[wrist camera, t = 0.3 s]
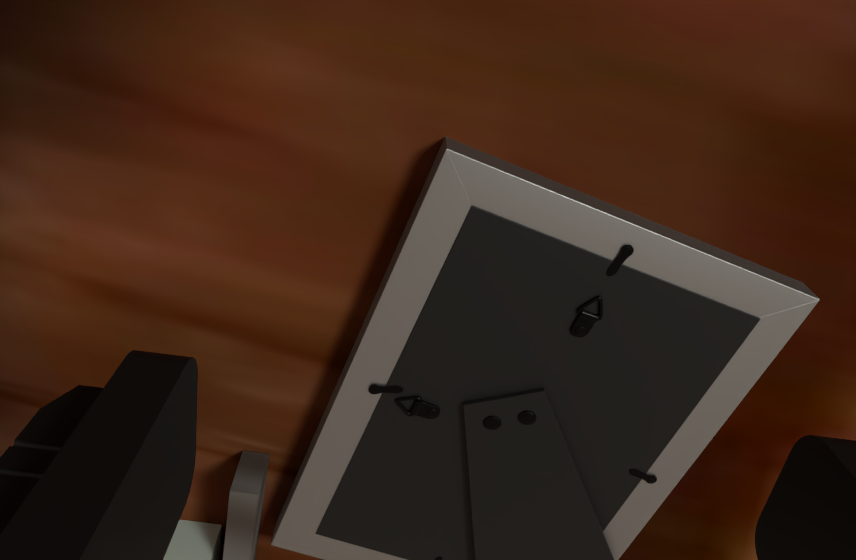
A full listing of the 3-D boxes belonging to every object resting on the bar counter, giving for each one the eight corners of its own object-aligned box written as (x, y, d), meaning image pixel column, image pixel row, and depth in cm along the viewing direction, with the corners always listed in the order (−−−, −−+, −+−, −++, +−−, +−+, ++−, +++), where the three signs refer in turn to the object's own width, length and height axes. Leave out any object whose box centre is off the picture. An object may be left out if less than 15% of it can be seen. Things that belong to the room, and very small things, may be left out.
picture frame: (559, 591, 38) (794, 274, 29) (569, 639, 35) (830, 309, 26) (278, 511, 35) (444, 130, 26) (267, 558, 32) (447, 154, 23)
